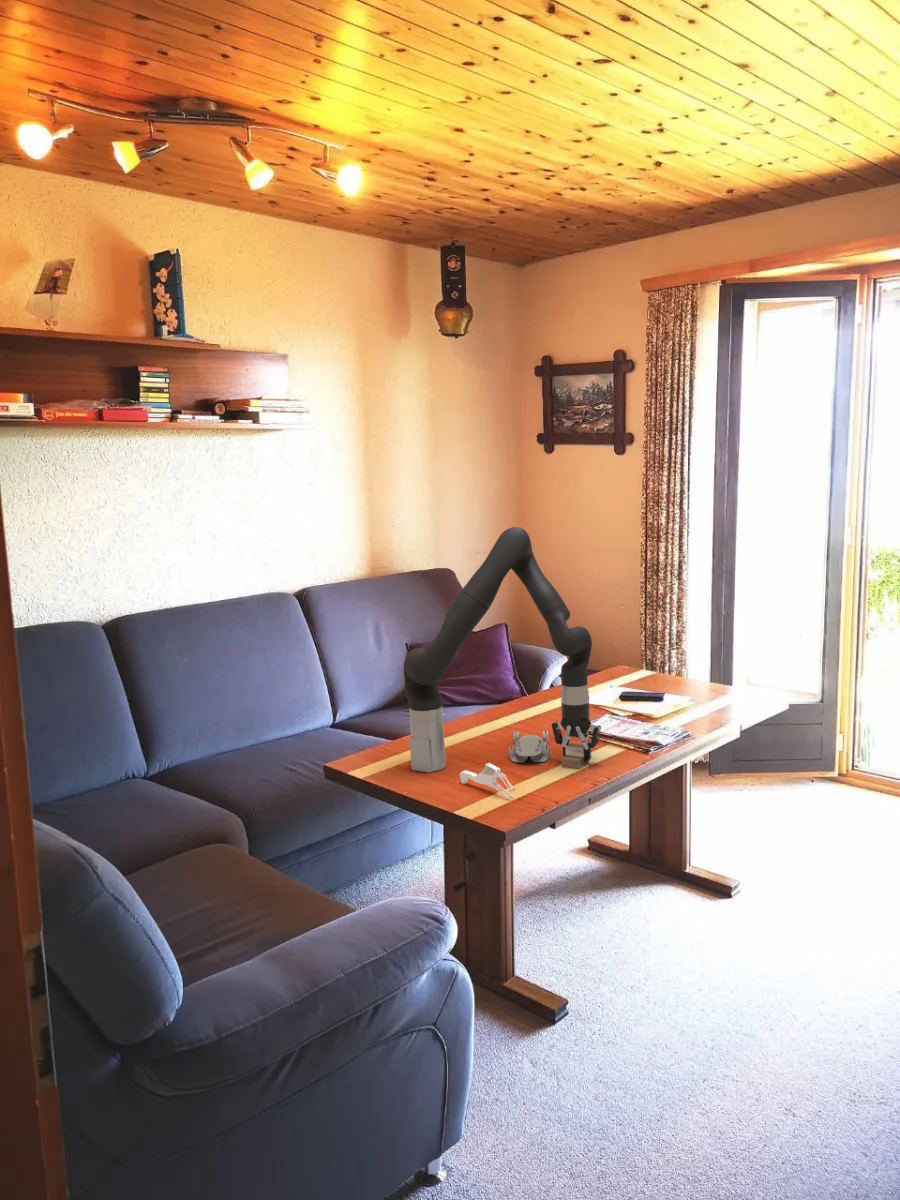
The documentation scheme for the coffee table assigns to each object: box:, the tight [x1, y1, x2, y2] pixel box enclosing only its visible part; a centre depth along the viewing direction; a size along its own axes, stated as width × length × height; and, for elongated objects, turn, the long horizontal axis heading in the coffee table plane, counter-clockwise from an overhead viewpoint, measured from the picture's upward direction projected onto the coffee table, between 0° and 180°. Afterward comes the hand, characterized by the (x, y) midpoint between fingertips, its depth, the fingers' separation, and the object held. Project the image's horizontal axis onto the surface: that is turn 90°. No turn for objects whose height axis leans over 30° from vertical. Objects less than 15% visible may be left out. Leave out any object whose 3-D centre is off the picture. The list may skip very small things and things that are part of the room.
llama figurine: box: [459, 762, 516, 800], centre depth 235 cm, size 2×11×18 cm
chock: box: [560, 741, 588, 770], centre depth 252 cm, size 7×5×5 cm
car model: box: [508, 730, 550, 764], centre depth 265 cm, size 11×24×5 cm, turn 173°
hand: (577, 760), depth 253 cm, fingers closed on chock, 5 cm apart
